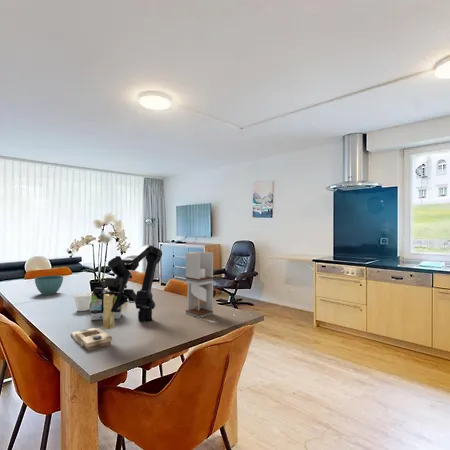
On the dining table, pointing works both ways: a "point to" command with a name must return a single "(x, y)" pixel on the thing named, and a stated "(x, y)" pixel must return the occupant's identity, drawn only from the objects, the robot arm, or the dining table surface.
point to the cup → (82, 301)
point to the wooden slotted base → (92, 338)
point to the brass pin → (108, 311)
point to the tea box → (96, 308)
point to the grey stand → (199, 283)
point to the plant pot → (48, 284)
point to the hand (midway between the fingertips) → (107, 311)
